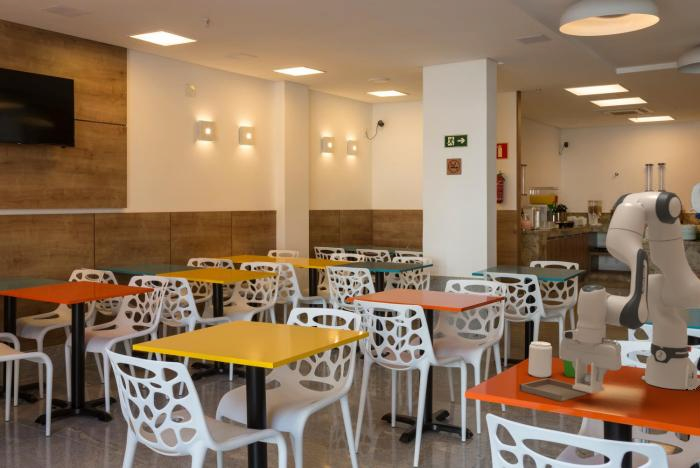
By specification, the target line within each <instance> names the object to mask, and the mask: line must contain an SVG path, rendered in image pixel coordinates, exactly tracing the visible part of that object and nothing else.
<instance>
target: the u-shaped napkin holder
mask: <svg viewBox="0 0 700 468" xmlns="http://www.w3.org/2000/svg"><path fill="white" fill-rule="evenodd" d="M579 361H580V359H576V371H575V377H574V385H573V389H577V390H581V391H585V392H588V394H589V393H590V394H595V393H598V392H603V391H605V387H604V386H603V381H602V382H599V381H596V376H597V375H599V374H600V372H601V371H599V367H595V362H592V363H591V366H590V372H591V385H590V386H589V385H586V384H585V383H584V381H583V377H584V375H585V374H586V373H588V366H589V365H585V364H581V363H580V362H579Z"/></svg>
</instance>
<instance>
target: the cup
mask: <svg viewBox="0 0 700 468" xmlns="http://www.w3.org/2000/svg"><path fill="white" fill-rule="evenodd" d="M562 364H563V373H564V376H566V377H567V378H568V377H569V378H575V370H574V367H573V365H572V361H567V360H563V359H562Z"/></svg>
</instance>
